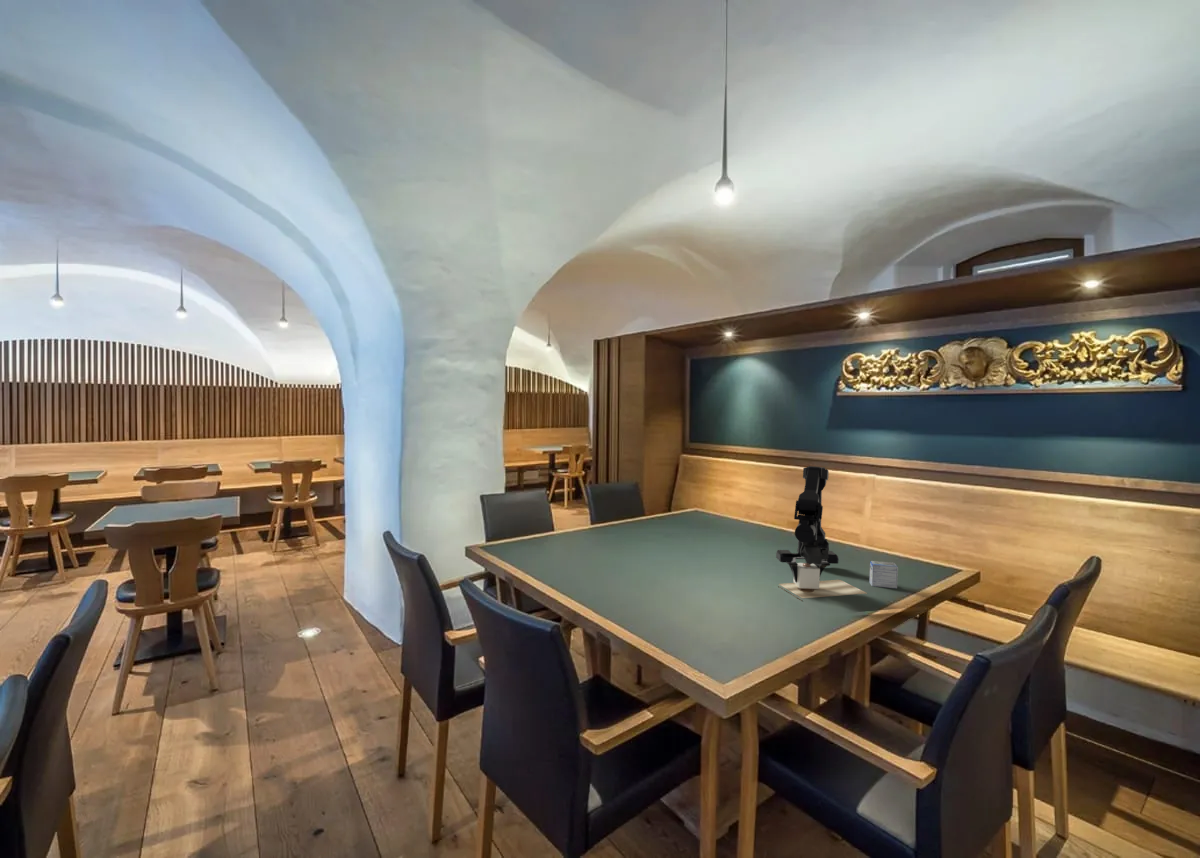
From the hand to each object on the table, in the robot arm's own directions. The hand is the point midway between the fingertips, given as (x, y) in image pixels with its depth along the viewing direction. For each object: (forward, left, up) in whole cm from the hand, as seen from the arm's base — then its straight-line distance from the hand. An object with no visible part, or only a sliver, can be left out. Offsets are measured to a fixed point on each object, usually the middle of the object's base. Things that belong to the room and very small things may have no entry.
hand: (806, 582), depth 181 cm
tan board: (0, +6, -4) cm, 7 cm away
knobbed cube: (0, 0, -1) cm, 1 cm away
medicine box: (+1, +29, -4) cm, 29 cm away
